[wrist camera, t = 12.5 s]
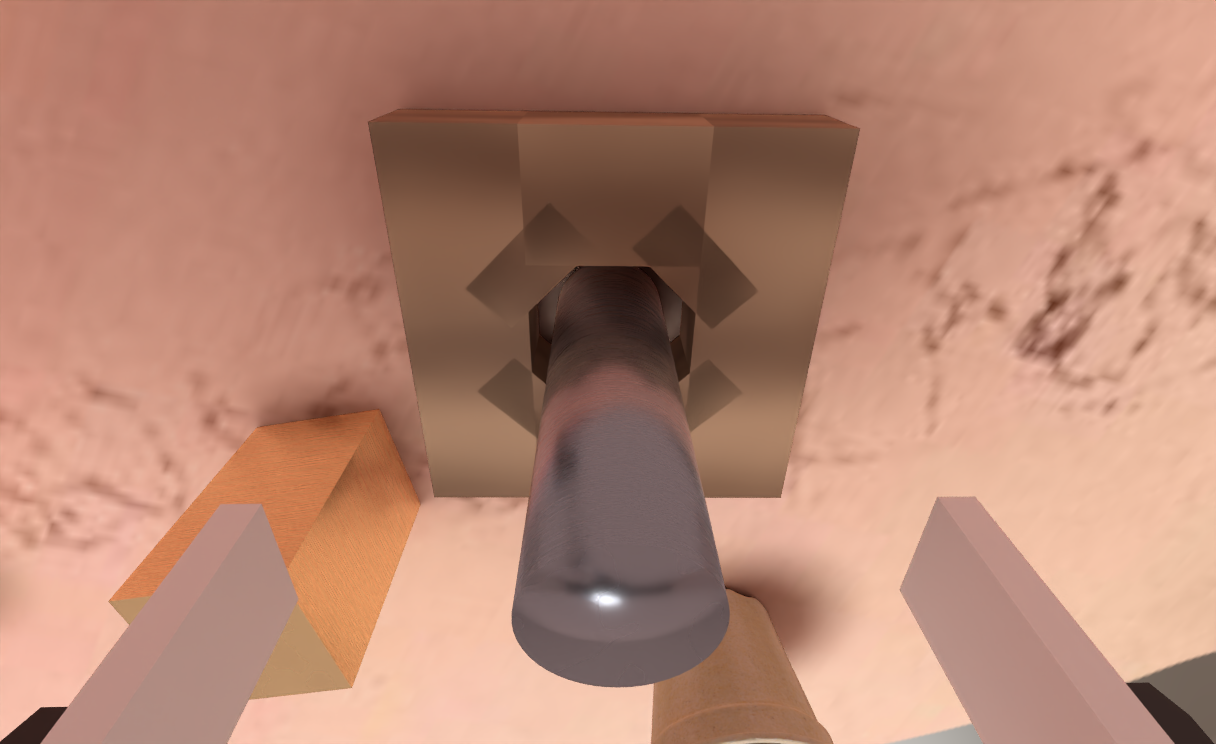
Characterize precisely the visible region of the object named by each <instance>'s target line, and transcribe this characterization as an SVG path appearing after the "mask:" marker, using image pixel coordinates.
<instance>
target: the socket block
mask: <svg viewBox="0 0 1216 744" xmlns="http://www.w3.org/2000/svg"><path fill="white" fill-rule="evenodd" d="M368 125H369V130H370V136H371V142H372V147H373V153H374V159H375V164H376V170H377V176H378V181H379V187H380V192H381V198H382V204H383V209H384V215H385V221H386V226H387V232H388V238H389V243H390V249H391V255H392V260H393V266H394V272H395V277H396V283H397V289H398V294H399V300H400V306H401V311H402V317H403V323H404V328H405V334H406V340H407V345H408V351H409V356H410V362H411V368H412V373H413V379H414V385H415V390H416V396H417V402H418V407H419V413H420V419H421V424H422V430H423V436H424V441H425V447H426V453H427V458H428V464H429V470H430V475H431V481H432V487H433V492H434V497H529V494H530V487H531V480H532V473H533V467H534V460H535V453H536V446H537V440H538V433H539V426H540V419H541V413H542V406H543V399H544V392H545V386H546V379H547V372H548V365H549V359H550V352H551V344H550V343H549V342H547V341H546V340H545V339H544V338H543V337H542V336H541V335H539V321H538V302H539V301H540V300H542V299H543V298H544V297H545V296H546V295H547V294H548V293H549V292H550V291H551V290H552V289H553V288H554V287H555V286H556V285H557V284H558V283H559V282H560V281H561V280H562V279H563V278H565V277H566V276H567V275H568V274H569V273H570V272H571V271H572V270H573V269H574V268H575V267H576V266H650V267H651V268H652V269H653V270H654V272H655V273H656V274H657V275H658V276H659V277H660V278H661V279H662V280H663V281H664V282H665V283H666V284H667V285H668V286H669V287H670V288H671V289H672V290H673V291H674V292H675V293H676V294H677V295H678V296H679V297H680V298H681V299H682V300H683V303H682V315H681V327H680V336H678V337H677V338H676V339H675V340H673V341H672V342H671V343H670V346H671V350H672V355H673V359H674V364H675V368H676V373H677V377H678V381H679V386H680V390H681V395H682V399H683V403H684V408H685V412H686V417H687V421H688V426H689V430H690V434H691V439H692V443H693V448H694V452H695V457H696V461H697V465H698V470H699V474H700V479H701V483H702V488H703V492H704V496H705V498H781V494H782V489H783V485H784V480H785V475H786V471H787V466H788V461H789V457H790V452H791V447H792V443H793V438H794V433H795V429H796V424H797V419H798V415H799V410H800V405H801V401H802V396H803V392H804V387H805V382H806V378H807V373H808V368H809V364H810V359H811V354H812V350H813V345H814V340H815V336H816V331H817V326H818V322H819V317H820V312H821V308H822V303H823V298H824V294H825V289H826V285H827V280H828V275H829V271H830V266H831V261H832V257H833V252H834V247H835V243H836V238H837V233H838V229H839V224H840V219H841V215H842V210H843V205H844V201H845V196H846V191H847V187H848V182H849V178H850V173H851V168H852V164H853V159H854V154H855V150H856V145H857V140H858V136H859V131H860V128H857V127H854V126H852V125H849V124H847V123H844V122H842V121H839V120H836V119H834V118H831V117H829V116H826V115H776V114H706V113H636V112H566V111H496V110H426V109H398V110H396V111H393V112H391V113H388V114H386V115H383V116H381V117H379V118H376V119H374V120H371V121H369V122H368Z"/></svg>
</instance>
